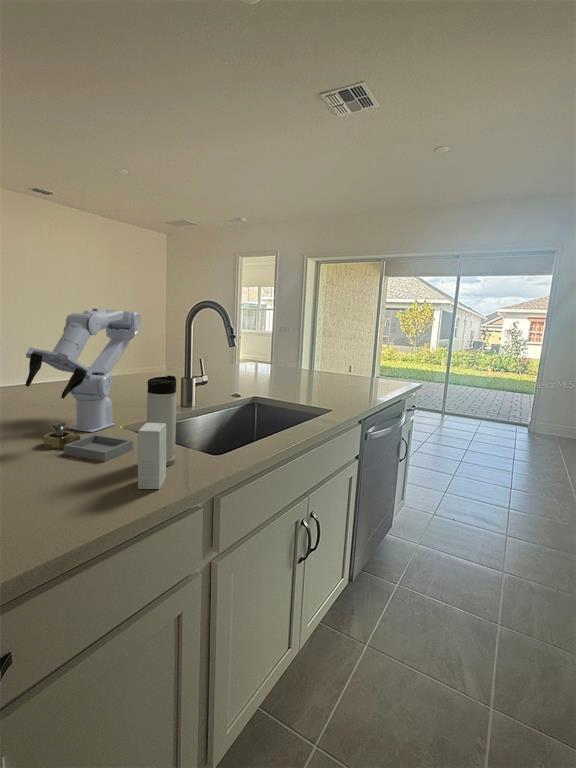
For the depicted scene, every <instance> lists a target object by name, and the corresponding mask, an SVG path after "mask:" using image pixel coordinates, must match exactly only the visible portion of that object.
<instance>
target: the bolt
mask: <svg viewBox="0 0 576 768" xmlns="http://www.w3.org/2000/svg"><path fill="white" fill-rule="evenodd" d="M66 426H67V424H66V422H64V421H62V422H59V423H55V424H52V426H51V427H52V428H51V429H54V432H55V437H64V435H63V431H64V427H66Z"/></svg>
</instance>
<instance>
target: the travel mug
mask: <svg viewBox="0 0 576 768" xmlns="http://www.w3.org/2000/svg"><path fill="white" fill-rule="evenodd" d="M146 394H147V395H146V423H165V424H166V467H170V466H171V465H173V464H174V463H175V462H176V427H177V425H176V424H177V378H176V376H174V375H167V376H158V377H157V376H156V377H152V378H149V379H148V380H147V391H146ZM169 465H170V466H169Z"/></svg>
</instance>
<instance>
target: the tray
mask: <svg viewBox="0 0 576 768" xmlns="http://www.w3.org/2000/svg"><path fill="white" fill-rule="evenodd" d="M132 450H134V440H133V439H126V438H120V437H114V436H108V435H107V436H106V435H102V434H95V433H94V434H92V435H89V436H87V437H84V438H80V440H77V441H74V442H72V443H69V444H66V445H64V448H63V455H67V456H72V457H77V458H82V459H89V460H93V461H97V462H98V461H99V462H104V463H105V462H107V461H110V460H112V459H114V458H116V457H118V456H121V455H123V454H126V453H127V452H130V451H132Z"/></svg>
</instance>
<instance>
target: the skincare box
mask: <svg viewBox="0 0 576 768" xmlns="http://www.w3.org/2000/svg"><path fill="white" fill-rule="evenodd" d="M166 471H167V466H166V424H165V423H147V422H145V423H144V424H143V425H142V426H141V427H140V428H139V430H137V489H138V490H139V489H159V490H160V489H161V487H162V485H163V483H164V482H165V479H166V478H167V472H166Z"/></svg>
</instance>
